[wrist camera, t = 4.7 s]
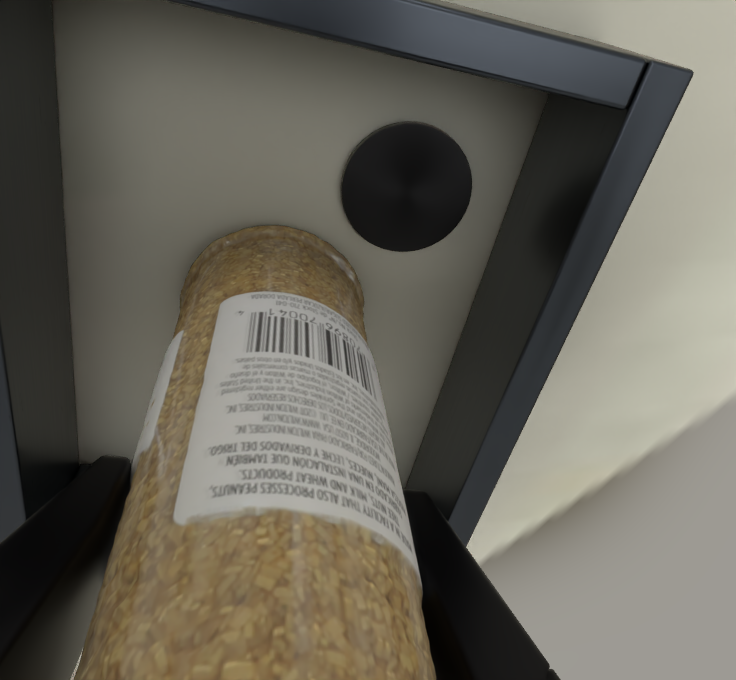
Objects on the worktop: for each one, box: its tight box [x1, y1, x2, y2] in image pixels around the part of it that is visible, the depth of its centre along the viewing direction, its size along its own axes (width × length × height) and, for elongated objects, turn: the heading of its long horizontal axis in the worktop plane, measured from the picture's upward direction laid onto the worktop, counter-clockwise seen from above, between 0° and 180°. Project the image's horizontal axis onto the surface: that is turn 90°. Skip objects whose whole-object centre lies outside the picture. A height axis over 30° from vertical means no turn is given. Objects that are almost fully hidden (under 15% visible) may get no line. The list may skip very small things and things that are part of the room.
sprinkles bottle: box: [74, 225, 436, 680], centre depth 9 cm, size 5×5×14 cm
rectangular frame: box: [0, 0, 694, 547], centre depth 13 cm, size 12×15×4 cm
